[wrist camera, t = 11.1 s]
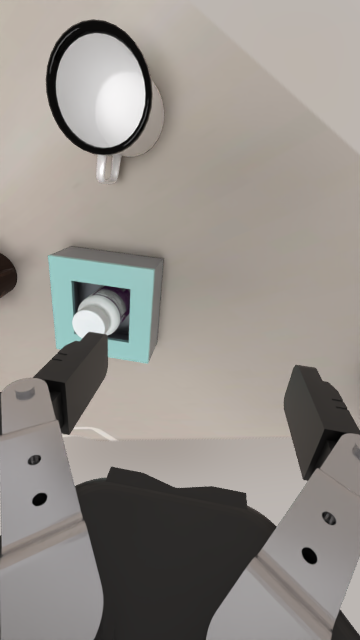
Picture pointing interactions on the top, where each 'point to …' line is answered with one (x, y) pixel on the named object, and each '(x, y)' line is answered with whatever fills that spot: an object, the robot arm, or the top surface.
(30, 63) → the top surface
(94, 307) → the pill bottle
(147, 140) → the mug
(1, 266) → the coffee mug
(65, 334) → the bin
